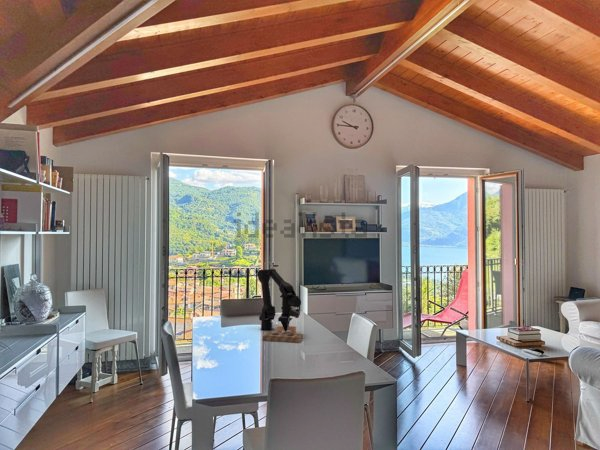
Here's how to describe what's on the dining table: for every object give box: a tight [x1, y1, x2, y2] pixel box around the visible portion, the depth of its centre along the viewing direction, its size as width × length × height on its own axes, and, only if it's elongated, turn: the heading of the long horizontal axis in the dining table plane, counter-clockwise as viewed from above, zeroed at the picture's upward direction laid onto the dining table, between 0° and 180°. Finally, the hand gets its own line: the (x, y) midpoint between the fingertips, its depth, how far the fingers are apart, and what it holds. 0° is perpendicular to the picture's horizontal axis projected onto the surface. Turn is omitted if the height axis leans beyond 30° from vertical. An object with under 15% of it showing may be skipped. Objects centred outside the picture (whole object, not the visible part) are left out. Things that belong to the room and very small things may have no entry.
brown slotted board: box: [262, 331, 304, 344], centre depth 239 cm, size 22×10×3 cm, turn 79°
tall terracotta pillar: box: [276, 325, 297, 333], centre depth 251 cm, size 12×3×5 cm, turn 79°
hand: (286, 330), depth 251 cm, fingers closed on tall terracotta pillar, 3 cm apart
